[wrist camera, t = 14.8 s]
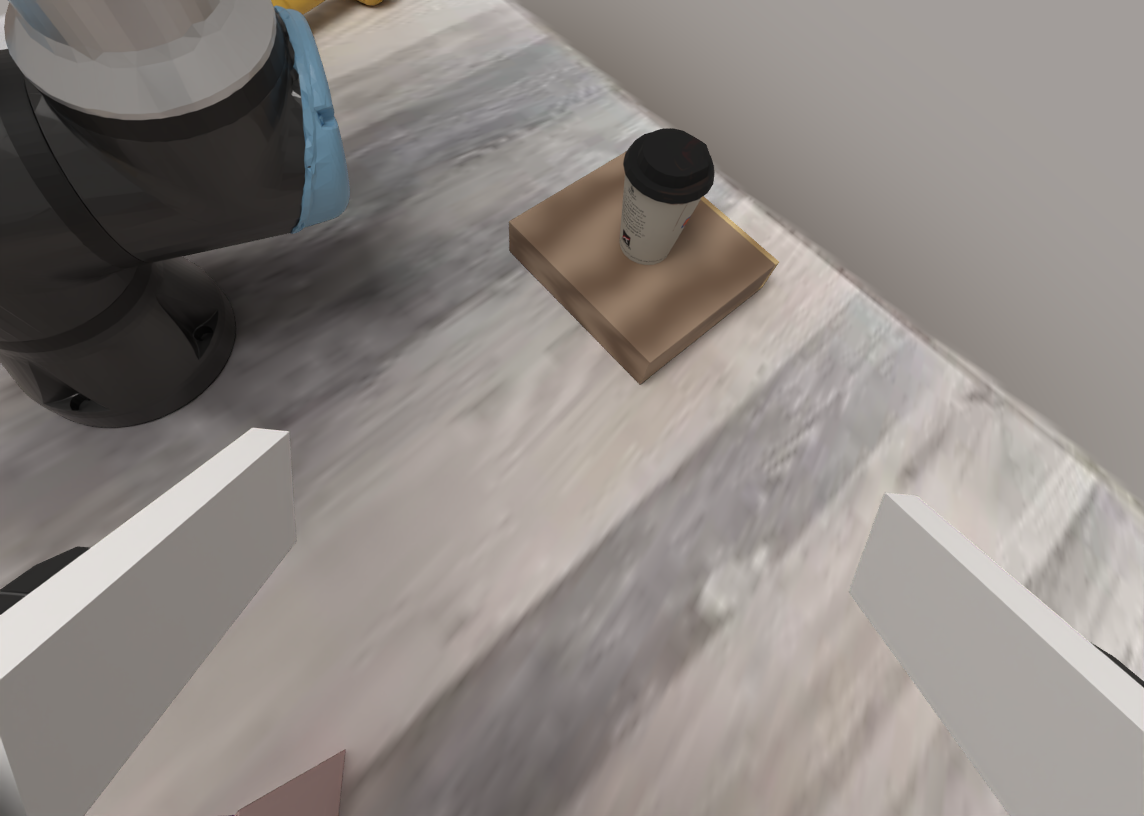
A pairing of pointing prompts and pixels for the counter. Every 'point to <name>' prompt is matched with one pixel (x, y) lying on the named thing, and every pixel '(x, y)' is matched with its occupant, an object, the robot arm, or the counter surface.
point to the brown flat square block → (636, 271)
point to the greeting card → (304, 793)
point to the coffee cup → (661, 191)
